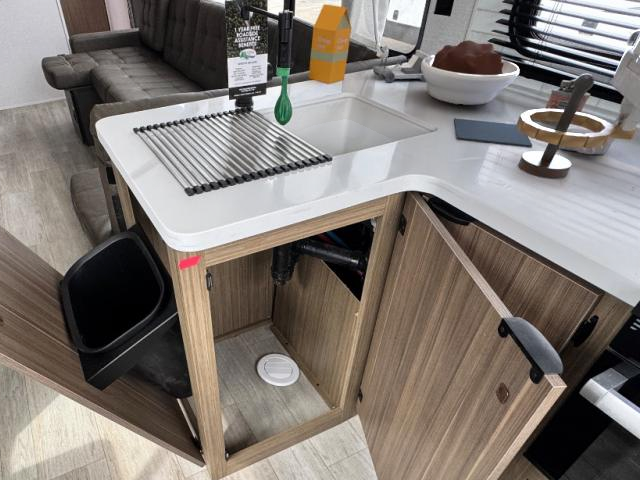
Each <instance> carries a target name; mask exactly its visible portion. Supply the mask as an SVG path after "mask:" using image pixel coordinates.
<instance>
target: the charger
mask: <svg viewBox="0 0 640 480" xmlns="http://www.w3.org/2000/svg"><path fill="white" fill-rule="evenodd" d="M567 132H569V133H580V134H588V133H595V132H593V131H591V130H589V129H586V128H584V127H581V126H577V125H573V124H570V125H569V128H568V130H567ZM614 140H615V138H611V140H610V141H609V142H607V143H606V144H605V145H604V146H598V147H589V148H584V147H583V148H579V147H568V146H559V148H560V150H565V151H570V152H578V153H579V154H586V155H605V154H606V153H607V152H608V151H609V150H610V147H611V145H612V144H613V142H614Z"/></svg>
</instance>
